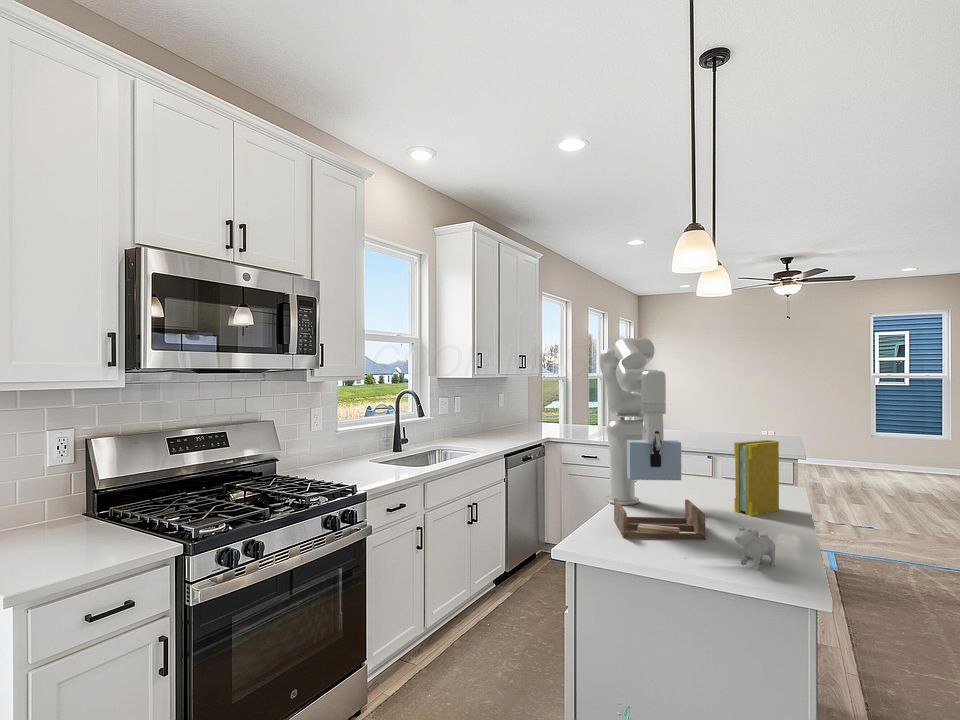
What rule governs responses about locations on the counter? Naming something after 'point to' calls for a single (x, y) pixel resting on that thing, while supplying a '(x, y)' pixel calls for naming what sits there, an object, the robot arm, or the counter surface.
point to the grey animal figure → (755, 546)
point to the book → (756, 476)
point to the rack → (692, 519)
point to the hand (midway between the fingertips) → (653, 464)
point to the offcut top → (657, 529)
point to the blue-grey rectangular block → (641, 461)
